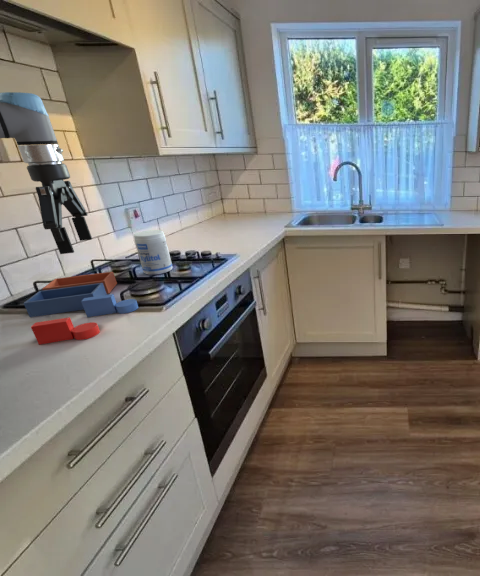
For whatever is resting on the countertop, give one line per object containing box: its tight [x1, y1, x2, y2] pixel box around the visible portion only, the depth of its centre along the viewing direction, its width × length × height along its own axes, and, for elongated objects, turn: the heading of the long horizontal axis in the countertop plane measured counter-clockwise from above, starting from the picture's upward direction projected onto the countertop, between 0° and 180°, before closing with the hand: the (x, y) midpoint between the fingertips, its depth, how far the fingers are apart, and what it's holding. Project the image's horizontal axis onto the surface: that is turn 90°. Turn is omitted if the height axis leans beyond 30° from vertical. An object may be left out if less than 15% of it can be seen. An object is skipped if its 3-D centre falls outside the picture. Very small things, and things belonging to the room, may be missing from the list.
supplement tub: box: [133, 229, 173, 276], centre depth 133 cm, size 10×10×15 cm
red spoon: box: [30, 316, 101, 345], centre depth 90 cm, size 12×5×5 cm, turn 110°
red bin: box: [41, 271, 118, 295], centre depth 117 cm, size 16×9×4 cm, turn 110°
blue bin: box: [23, 283, 108, 318], centre depth 108 cm, size 16×9×4 cm, turn 111°
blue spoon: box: [81, 293, 139, 318], centre depth 103 cm, size 12×5×5 cm, turn 110°
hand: (77, 246), depth 98 cm, fingers open, 13 cm apart
